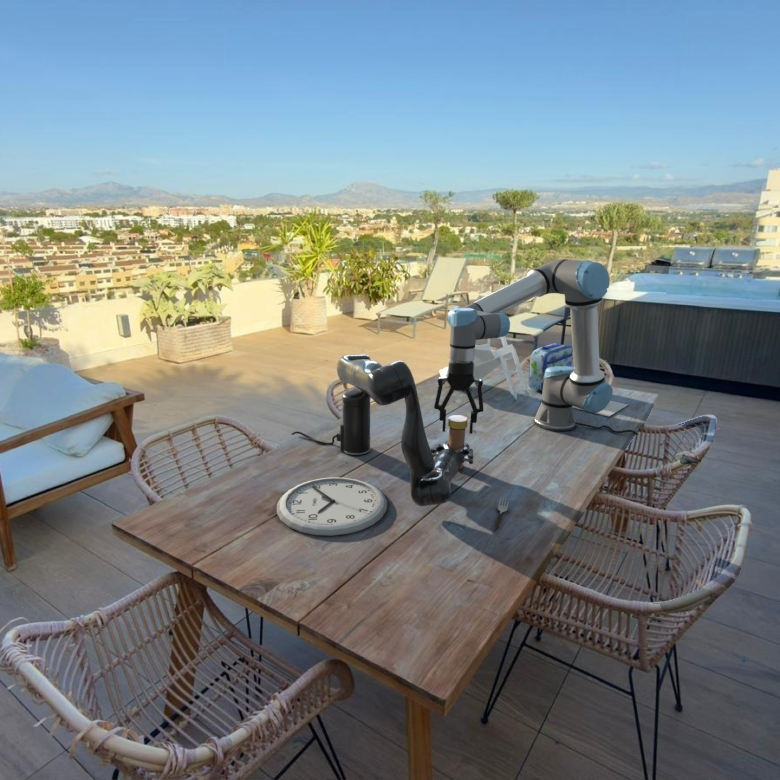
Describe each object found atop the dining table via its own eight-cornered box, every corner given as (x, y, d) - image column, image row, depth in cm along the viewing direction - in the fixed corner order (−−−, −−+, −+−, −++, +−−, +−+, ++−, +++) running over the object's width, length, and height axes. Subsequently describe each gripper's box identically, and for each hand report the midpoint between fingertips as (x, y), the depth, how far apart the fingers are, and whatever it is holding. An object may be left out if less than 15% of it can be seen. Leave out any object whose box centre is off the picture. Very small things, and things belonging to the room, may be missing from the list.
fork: (489, 532, 131) (490, 525, 131) (499, 502, 145) (500, 496, 145) (500, 534, 130) (500, 527, 130) (509, 504, 145) (509, 497, 144)
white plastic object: (461, 429, 252) (437, 405, 227) (444, 352, 274) (420, 323, 250) (535, 404, 240) (518, 377, 215) (510, 326, 262) (492, 293, 237)
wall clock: (392, 527, 129) (268, 531, 127) (391, 533, 130) (269, 537, 127) (383, 473, 158) (282, 475, 155) (383, 478, 158) (282, 480, 156)
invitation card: (608, 416, 214) (573, 407, 224) (608, 416, 214) (573, 408, 224) (628, 404, 229) (594, 396, 238) (628, 405, 229) (594, 397, 238)
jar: (465, 468, 166) (468, 423, 161) (451, 470, 165) (453, 424, 160) (459, 462, 170) (461, 417, 166) (445, 464, 169) (447, 418, 164)
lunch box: (544, 395, 239) (549, 351, 233) (524, 390, 247) (528, 347, 240) (571, 384, 257) (577, 343, 251) (552, 380, 264) (556, 339, 258)
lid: (452, 429, 160) (453, 422, 159) (445, 423, 165) (445, 416, 164) (470, 428, 161) (470, 420, 161) (462, 421, 167) (462, 414, 166)
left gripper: (470, 458, 149) (481, 436, 165) (422, 450, 154) (436, 430, 169) (469, 481, 151) (479, 458, 167) (421, 473, 156) (435, 451, 171)
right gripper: (495, 359, 159) (490, 428, 166) (428, 355, 162) (425, 424, 169) (496, 365, 152) (491, 437, 159) (426, 361, 155) (423, 433, 162)
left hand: (458, 444), depth 168 cm, fingers closed on jar, 5 cm apart
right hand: (457, 430), depth 164 cm, fingers open, 8 cm apart
